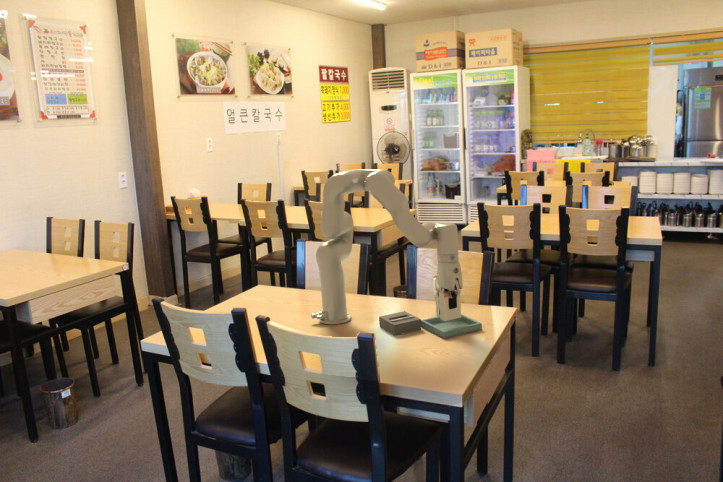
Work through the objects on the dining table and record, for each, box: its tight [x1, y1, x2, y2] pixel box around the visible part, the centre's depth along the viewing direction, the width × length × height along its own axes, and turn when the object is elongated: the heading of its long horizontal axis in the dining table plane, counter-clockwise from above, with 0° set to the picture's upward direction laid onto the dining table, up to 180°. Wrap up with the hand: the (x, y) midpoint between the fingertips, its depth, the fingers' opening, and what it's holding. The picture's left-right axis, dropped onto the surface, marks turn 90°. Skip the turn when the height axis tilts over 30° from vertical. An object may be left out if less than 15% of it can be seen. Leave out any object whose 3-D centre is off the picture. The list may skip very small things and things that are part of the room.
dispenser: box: [378, 310, 422, 337], centre depth 225 cm, size 11×12×4 cm
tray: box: [421, 313, 483, 340], centre depth 221 cm, size 16×16×2 cm
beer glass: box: [432, 274, 442, 317], centre depth 237 cm, size 7×7×15 cm
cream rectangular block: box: [439, 291, 462, 321], centre depth 220 cm, size 7×3×10 cm, turn 115°
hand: (450, 306), depth 220 cm, fingers closed on cream rectangular block, 2 cm apart
